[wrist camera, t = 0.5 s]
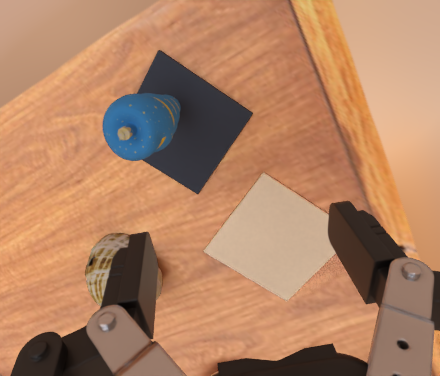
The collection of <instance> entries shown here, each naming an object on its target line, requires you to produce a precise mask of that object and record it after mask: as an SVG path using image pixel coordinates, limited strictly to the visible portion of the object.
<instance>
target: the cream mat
mask: <svg viewBox="0 0 440 376" xmlns="http://www.w3.org/2000/svg"><path fill="white" fill-rule="evenodd" d="M328 220H329V214H328V213H326V212H325V211H323V210H322V209H320V208H318V207H317V206H315V205H314V204H312V203H311V202H309V201H308V200H306V199H305V198H303V197H302V196H300V195H298V194H297V193H295V192H294V191H292V190H291V189H289V188H288V187H286V186H285V185H283V184H282V183H280V182H278V181H277V180H275V179H274V178H272V177H271V176H269V175H268V174H266V173H265V172H263V173H262V174H261V176H260V177H259V178H258V180H257V181H256V182H255V184H254V185H253V186H252V188H251V189H250V190H249V191H248V193H247V194H246V195H245V197H244V198H243V199H242V201H241V202H240V203H239V205H238V206H237V207H236V208H235V210H234V211H233V212H232V214H231V215H230V216H229V218H228V219H227V220H226V222H225V223H224V224H223V225H222V227H221V228H220V229H219V231H218V232H217V233H216V235H215V236H214V237H213V239H212V240H211V241H210V242H209V244H208V245H207V246H206V248H205V249H204V251H203V252H204V253H206V254H208V255H209V256H211V257H213V258H215V259H216V260H218V261H220V262H221V263H223V264H225V265H226V266H228V267H230V268H231V269H233V270H235V271H236V272H238V273H240V274H242V275H243V276H245V277H247V278H248V279H250V280H252V281H253V282H255V283H257V284H258V285H260V286H262V287H263V288H265V289H267V290H269V291H270V292H272V293H274V294H275V295H277V296H279V297H280V298H282V299H284V300H285V301H288V300H289V299H290V298H291V297H292V296H293V295H294V294H295V293H296V292H297V291H298V290H299V289H300V288H301V287H302V286H303V285H304V284H305V283H306V282H307V281H308V280H309V279H310V278H311V277H312V276H313V275H314V274H315V273H316V272H317V271H318V270H319V269H320V268H321V267H322V266H323V265H324V264H325V263H326V262H327V261H328V260H329V259H330V258H331V257H332V256H333V255H334V254H335V253H336V252H335V250H334V249H333V247H332V245H331V243H330V241H329V238H328Z"/></svg>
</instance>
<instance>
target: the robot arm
mask: <svg viewBox="0 0 440 376" xmlns="http://www.w3.org/2000/svg"><path fill="white" fill-rule="evenodd" d="M328 238H329V241H330V243H331V245H332V247H333V249H334V250H335V252H336V254H337V256H338V257H339V259H340V261H341V262H342V264H343V266H344V267H345V269H346V271H347V273H348V274H349V276H350V278H351V279H352V281H353V283H354V285H355V286H356V288H357V290H358V291H359V293H360V295H361V296H362V298H363V300H364V302H365V303H366V304H370V303H377V305H378V306H379V312H378V317H377V321H376V325H375V330H374V334H373V339H372V343H371V348H370V352H369V357H368V361H367V363H366V362H364V361H363V360H360V359H358V358H356V357H353V356H350V355H346V354H342V353H336V350H335V348H334V346H333V344H327V345H321V346H315V347H309V348H304V349H302V350H300V351H298V352H296V353H294V354H292V355H289V356H287V357H285V358H283V359H281V360H278V361H270V360H259V359H248V358H245V359H239V360H233V361H227V362H221V363H218V373H216V374H214V375H212V376H431V370H432V355H433V340H434V330H439V331H440V272H438V271H432V270H431V269H430V268H429V267H428V266H427V265H426V264H424V263H423V262H421V261H419V260H416V259H413V258H408V257H407V256H406V255H405V253H404V252H403V251H402V250H401V249H400V247H399V246H398V245H397V244H396V243H395V241H394V240H393V239H392V238H391V237H390V235H389V234H388V233H386V231H385V230H384V228H383V227H381V225H380V224H379V222H378V221H377V220H376V219H375V218H374V217H373V216H372V215H370V214H368V213H367V212H365V211H363V210H361V211H357V210H356V208H355V207H354V206H353V204H352V203H351V202H350V201H343V202H337V203H332V204H331V205H330V209H329V220H328ZM108 276H109V277H108V279H107V283H106V287H105V291H104V295H103V299H102V304H101V307H100V309H99V310H98V311H97V312H95V313H94V314H93V315H92V317H91V318H90V319H89V321H88V323H87V325H86V326H85V327H83V328H81V329H79V330H77V331H75V332H73V333H71V334H68V335H66V336H64V337H62V338H61V337H60V335H58V334H57V333H55V332H45V333H42V334H40V335H37V336H36V337H34V338H33V339H31V340H30V341H29V342H27V344H26V345H25V346H24V347H23V348H22V349H21V351H20V353H19V355H18V357H17V360H16V362H15V365H14V368H13V370H12V373H11V376H186V374H185V373H184V372H183V371H182V370H181V369H180V368H179V366H178V365H177V364H176V363H175V362H174V361H173V359H172V358H171V357H170V356H169V355H168V354H167V353H166V351H165V350H164V349H163V348H162V347H161V346H160V345H159V344H158V343H157V342H156V341H154V342H152V341H151V340H150V339H153V333H154V319H155V305H156V292H157V278H158V262H157V257H156V254H155V251H154V247H153V244H152V241H151V238H150V234H149V232H143V233H137V234H131V235H130V238H129V243H128V247H124V248H119V250H118V251H117V252H116V254H115V255H114V257H113V258H112V263H111V267H110V271H109V275H108Z"/></svg>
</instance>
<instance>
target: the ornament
mask: <svg viewBox="0 0 440 376" xmlns="http://www.w3.org/2000/svg"><path fill="white" fill-rule="evenodd" d="M180 110H181V107H180V103H179V102H178V100H177V99H176V98H174V97H173V96H170V95H160V94H152V93H144V94H129V95H125V96H123V97H121V98H119V99H117V100H116V101H114V102H113V103H112V104H111V105H110V106H109V108H108V109H107V111H106V113H105V116H104V119H103V133H104V137H105V139H106V142H107V143H108V145H109V147H110V148H111V149H112V151H113V152H114V153H115V154H117V155H118V156H119V157H121V158H123V159H126V160H130V161H138V160H142V159H145V158H147V157H149V156H150V155H151V154H153V153H154V152H158V151H160V150H162V149H164V148H165V147H166V146H167V145H168V144H169V143H170V142H171V140H172V138H173V134H174V133H175V131H176V129H177V124H178V121H179V118H180Z"/></svg>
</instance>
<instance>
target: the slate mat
mask: <svg viewBox="0 0 440 376" xmlns="http://www.w3.org/2000/svg"><path fill="white" fill-rule="evenodd" d="M144 93H152V94H160V95H170V96H173V97H174V98H176V99H177V100H178V102H179V103H180V107H181V110H180V118H179V121H178V124H177V129H176V131H175V133H174V134H173V138H172V140H171V142H170V143H169V144H168V145H167V146H166V147H165V148H164V149H162V150H160V151H158V152H154V153H153V154H151V155H150V156H149V157H147V158H145V159H142V160H143V161H145V162H147V163H148V164H150V165H151V166H153V167H155V168H156V169H158V170H160V171H161V172H163V173H164V174H166V175H168V176H169V177H171V178H172V179H174V180H176V181H177V182H179V183H181V184H182V185H184V186H185V187H187V188H189V189H190V190H192V191H193V192H195V193H197V194H198V193H199V192H200V190H201V189H202V187H203V186H204V185H205V183H206V182H207V180H208V179H209V177H210V176H211V174H212V173H213V171H214V170H215V168H216V167H217V165H218V164H219V163H220V161H221V160H222V158H223V157H224V155H225V154H226V152H227V151H228V149H229V148H230V146H231V145H232V144H233V142H234V141H235V139H236V138H237V136H238V135H239V133H240V132H241V130H242V129H243V127H244V126H245V124H246V123H247V122H248V120H249V119H250V117H251V116H252V114H253V113H252V112H250V111H249V110H247V109H246V108H245V107H243V106H242V105H240V104H239V103H237V102H236V101H234V100H233V99H231V98H230V97H228V96H227V95H225V94H224V93H222V92H221V91H219V90H218V89H216V88H215V87H213V86H212V85H210V84H209V83H208V82H206V81H205V80H203V79H202V78H200V77H199V76H197V75H196V74H194V73H193V72H191V71H190V70H188V69H187V68H185V67H184V66H182V65H181V64H179V63H178V62H176V61H175V60H174V59H172V58H171V57H169V56H168V55H166V54H165V53H163V52H162V51H160V50H158V52H157V54H156V56H155V59H154V61H153V63H152V65H151V67H150V69H149V71H148V73H147V75H146V77H145V79H144V81H143V83H142V85H141V87H140V89H139V91H138V93H137V94H144Z"/></svg>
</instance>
